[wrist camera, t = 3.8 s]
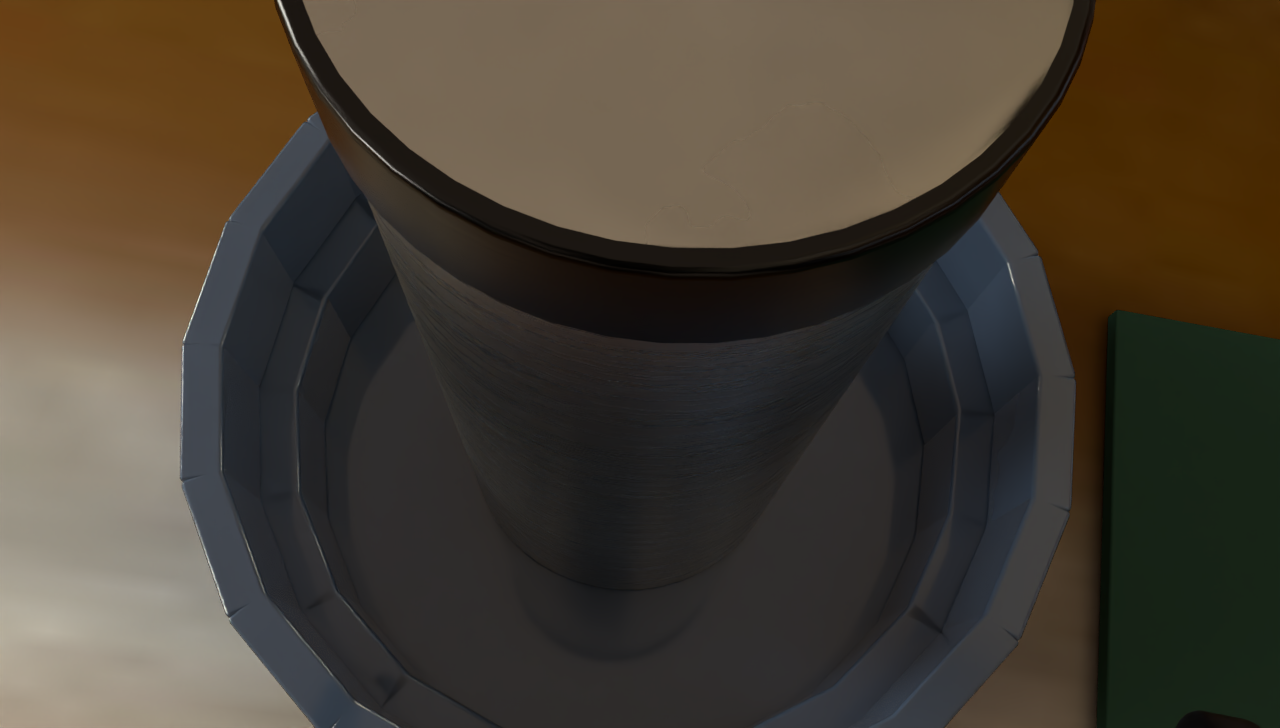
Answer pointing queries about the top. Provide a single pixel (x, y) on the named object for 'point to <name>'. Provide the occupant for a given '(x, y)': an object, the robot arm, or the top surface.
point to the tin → (667, 228)
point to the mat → (1189, 525)
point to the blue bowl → (579, 613)
